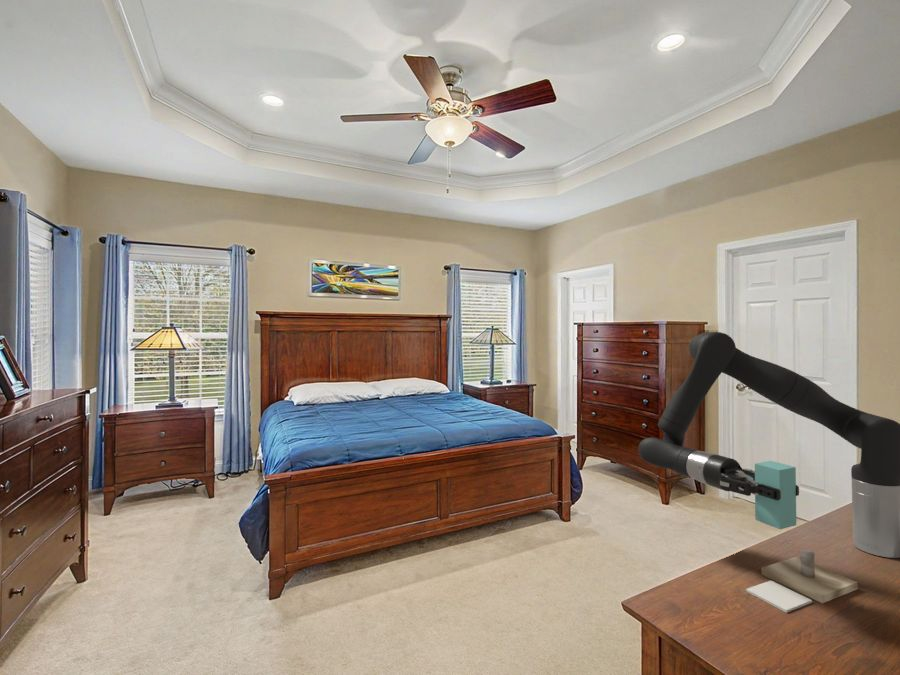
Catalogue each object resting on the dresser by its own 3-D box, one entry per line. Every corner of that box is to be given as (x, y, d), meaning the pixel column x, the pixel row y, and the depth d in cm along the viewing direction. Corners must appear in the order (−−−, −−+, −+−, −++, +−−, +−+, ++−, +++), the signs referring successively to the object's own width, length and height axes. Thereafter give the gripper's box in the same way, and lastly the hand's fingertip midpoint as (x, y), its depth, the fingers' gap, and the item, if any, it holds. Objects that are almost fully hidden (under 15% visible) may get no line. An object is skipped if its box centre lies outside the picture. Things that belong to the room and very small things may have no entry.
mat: (770, 582, 98) (770, 580, 98) (812, 602, 90) (811, 600, 90) (745, 591, 95) (745, 589, 95) (786, 612, 87) (786, 610, 87)
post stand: (795, 562, 105) (795, 535, 105) (857, 589, 94) (856, 558, 94) (761, 574, 101) (760, 545, 101) (822, 603, 90) (821, 571, 90)
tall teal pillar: (771, 515, 96) (770, 460, 96) (796, 525, 92) (795, 467, 92) (755, 519, 95) (754, 463, 95) (780, 529, 90) (779, 470, 90)
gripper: (690, 457, 104) (764, 479, 88) (733, 450, 109) (811, 470, 93) (691, 489, 104) (765, 517, 88) (734, 481, 109) (811, 506, 93)
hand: (788, 493), depth 91 cm, fingers closed on tall teal pillar, 5 cm apart
